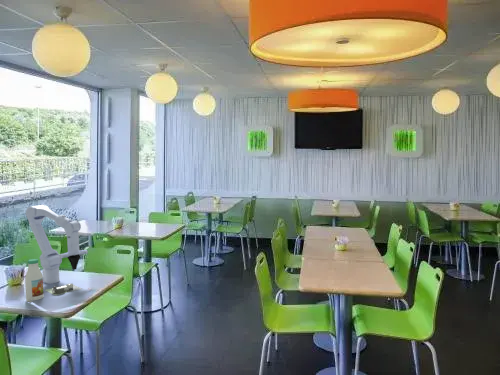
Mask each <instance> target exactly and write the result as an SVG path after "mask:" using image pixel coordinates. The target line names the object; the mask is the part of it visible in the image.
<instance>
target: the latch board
mask: <svg viewBox="0 0 500 375" xmlns="http://www.w3.org/2000/svg"><path fill="white" fill-rule="evenodd" d="M66 285H67V284H65V285H60V286H57V288H58V287H62V286H66ZM52 289H53V287H52V288H46V289H44V291H45V292H47V293H49V294H51V295H53V296H60V295H63V294H67V293H70V292H75V291H79V290H83V288H81V287H80V286H77V285H75V284H73V289H72V290H68V291H65V289H64V287H63V288H58V289H56V291H57V293H55V294H54V293H52Z"/></svg>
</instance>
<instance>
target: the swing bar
mask: <svg viewBox="0 0 500 375" xmlns="http://www.w3.org/2000/svg"><path fill="white" fill-rule="evenodd" d="M65 285H66V286H64V285H61V286H62V287H59V286H57V285H54V286H53V287H52V288H53V289H52V293H54V294H55V293H57V291H56V289H58V288H63V287H64V289H65V291H68V290H72V289H73V285H74V283H66V284H65ZM57 287H58V288H57Z"/></svg>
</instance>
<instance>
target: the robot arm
mask: <svg viewBox="0 0 500 375" xmlns="http://www.w3.org/2000/svg"><path fill="white" fill-rule="evenodd" d="M24 214H25V216H26V218H27V220H28V225H29V227H30V230H31V231H32V234H33V236H34V238H35V240H36V243H37V245H38V247H39V249H40V252H41V254H40V255H39V260H40V266H41V267H42V268H43V269H42V271H41V273H42V276H43V284H48V285H49V284H51V285H52V284H56V283H58V282H60V267H61V264H62V262H63V259H65V258H67V259H68V261H69V263H70V266H71V269H72V270H73V271H74V270H77V268H78V264H79V260H81V255H86V254H87V255H88V254H89V253H88V251H89V250H87V249H82V250H81V249H80V234H79V232H80V231H81V229H82V228H81V226H82V225H81V223H80V222H79V221H78V220H72V218H68V217H67V216H66V215H65V214H60V215H59V214H57V213H56V212H54V211H53V210H51V209H50V208H49V206H47V205H46V204H40V205H33V206H32V205H31V206H28V207H27V208H26V210H25V213H24ZM45 218H48V219H50V220H52V221H54V223H55V225H57V226H59V227H60V228H62V229H63V230H64V232H65V235H66V241H67V252H64V253H59V252H58V251H57V250H56V249H54V248H52V245H51V242H50V240H49V238H48V235H47V234H46V232H45V229H44V227H43V225H42V222H43V221H44V219H45Z"/></svg>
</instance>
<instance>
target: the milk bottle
mask: <svg viewBox="0 0 500 375" xmlns="http://www.w3.org/2000/svg"><path fill="white" fill-rule="evenodd" d="M27 266H28V268H27V270H26V274H25V277H24V282H25V283H24V284H25V285H24V287H25V301H26V302H27V303H33V301H38V300H41V299H43V298H44V297H45V295H44V294H45V292H44V291H45V290H44V283H43V273H42V271H41V269H40V267H39V259H38V258H32V259H31V258H29V259H28V260H27Z"/></svg>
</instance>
